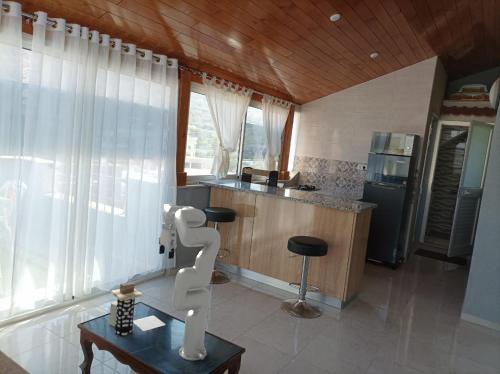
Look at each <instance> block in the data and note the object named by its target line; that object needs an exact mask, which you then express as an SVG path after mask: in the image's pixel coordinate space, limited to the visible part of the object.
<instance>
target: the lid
mask: <svg viewBox="0 0 500 374" xmlns="http://www.w3.org/2000/svg"><path fill="white" fill-rule="evenodd" d="M110 293H111V294H112V295H113V296H114V297H115V298H116V299H117V298H118V299H119V300H121V301H123V300H128V299H132V298H135V299H136V298H140V297H141V298H142V297H143V293H142V292H140V291H139V290H137V289H136V288H135V283H134V282H133V281H129V282H123V283H120V286H119V288H118V289H113V290H111V291H110Z"/></svg>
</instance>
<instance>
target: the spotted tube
mask: <svg viewBox="0 0 500 374" xmlns="http://www.w3.org/2000/svg"><path fill="white" fill-rule="evenodd" d="M116 299H117V300H116V301H117V310H116V322H115V327H114V335H115V336H118V337H127V336H130V335H131V334H132V333H133V326H134V323H133V321H134V317H135V316H134V314H135V305H136V304H135V302H136V298H132V299H128V300H123V301H121V300H119V299H118V298H117V297H116Z"/></svg>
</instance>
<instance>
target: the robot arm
mask: <svg viewBox="0 0 500 374" xmlns="http://www.w3.org/2000/svg"><path fill="white" fill-rule="evenodd" d="M162 212H163V213H162V222H161V231H160V237H158V245H159V249H158V254H159V255H163V254H165V252H166V251H165V249H166V248H168V250H169V251H168V257H167V258H168V259H169V260H170V259H174V257H175V251H176V249H177V247H178V244H177V234H178V237H179V240H180V243H181V244H182V246H184V247H187V248H193V247H202V249H201V250H200V251H199V252H198V253H197V255H196V257H195V262H194V265H193V266H191V267H183V268H181V269H180V270H178V271H177V273H176V276H175V280H174V287H173V292H172V299H171V301H172V302H171V303H172V308H173V310H174V311H176V312H179V313H181V312H187V313H186V316H185V319H184V320H185V322H184V331H183V341H182V346H181V347H180V348H179V350H178V355H179V356H180V358H182V359H184V360H186V361H199V360H205V357H206V356H207V355H208V353H207V350H206V348H205V346H204V344H205V335H206V327H207V326H206V323H207V315H208V309H209V306H210V304H211V303H210V302H211V292H210V290H209V289H208V288H206V287H209V286H210V284H211V281H212V277H213V276H212V275H213V271H214V265H215V262H216V258H217V255H218V253H219V252H220V249H221V248H220V247H221V235H220V232H219V231H218V230H217V229H216V228H213V227H207V226H205V227H204V226H203V227H200V226H202V225H204V224H205V223H206V221H207V216H206V214H205V212H204V211H203V210H201V209H200V208H199V209H198V208H195V207H193V206H189V205H188V206H186V205H177V204H176V203H175V204H174V203H165V204H164V205H163V211H162Z"/></svg>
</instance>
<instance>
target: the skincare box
mask: <svg viewBox="0 0 500 374" xmlns="http://www.w3.org/2000/svg"><path fill="white" fill-rule="evenodd" d="M116 310H117V300H115V301H113V302H111V303H110V310H109V311H110V313H109V322H108V323H109V326H112V327H114V328H115V322H116Z"/></svg>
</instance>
